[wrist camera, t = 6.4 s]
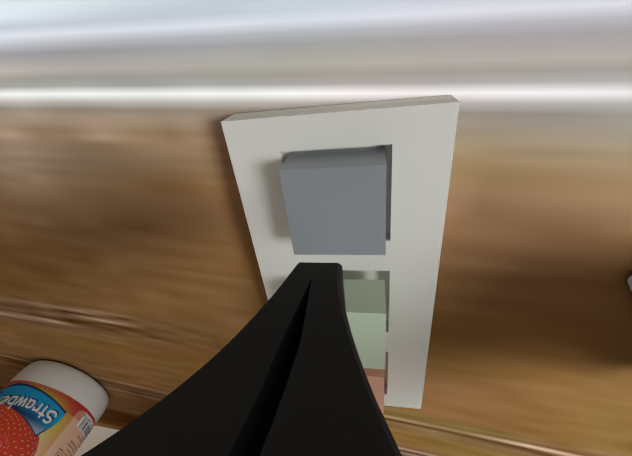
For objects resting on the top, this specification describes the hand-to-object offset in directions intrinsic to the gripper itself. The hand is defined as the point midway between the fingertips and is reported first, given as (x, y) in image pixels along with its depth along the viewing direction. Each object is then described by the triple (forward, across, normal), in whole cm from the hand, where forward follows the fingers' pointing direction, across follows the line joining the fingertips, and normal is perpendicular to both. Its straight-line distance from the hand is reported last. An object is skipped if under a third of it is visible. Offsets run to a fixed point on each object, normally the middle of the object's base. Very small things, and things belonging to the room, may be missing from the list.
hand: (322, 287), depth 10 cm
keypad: (+8, 0, +7) cm, 10 cm away
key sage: (+6, 0, +7) cm, 9 cm away
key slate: (+7, 0, 0) cm, 7 cm away
